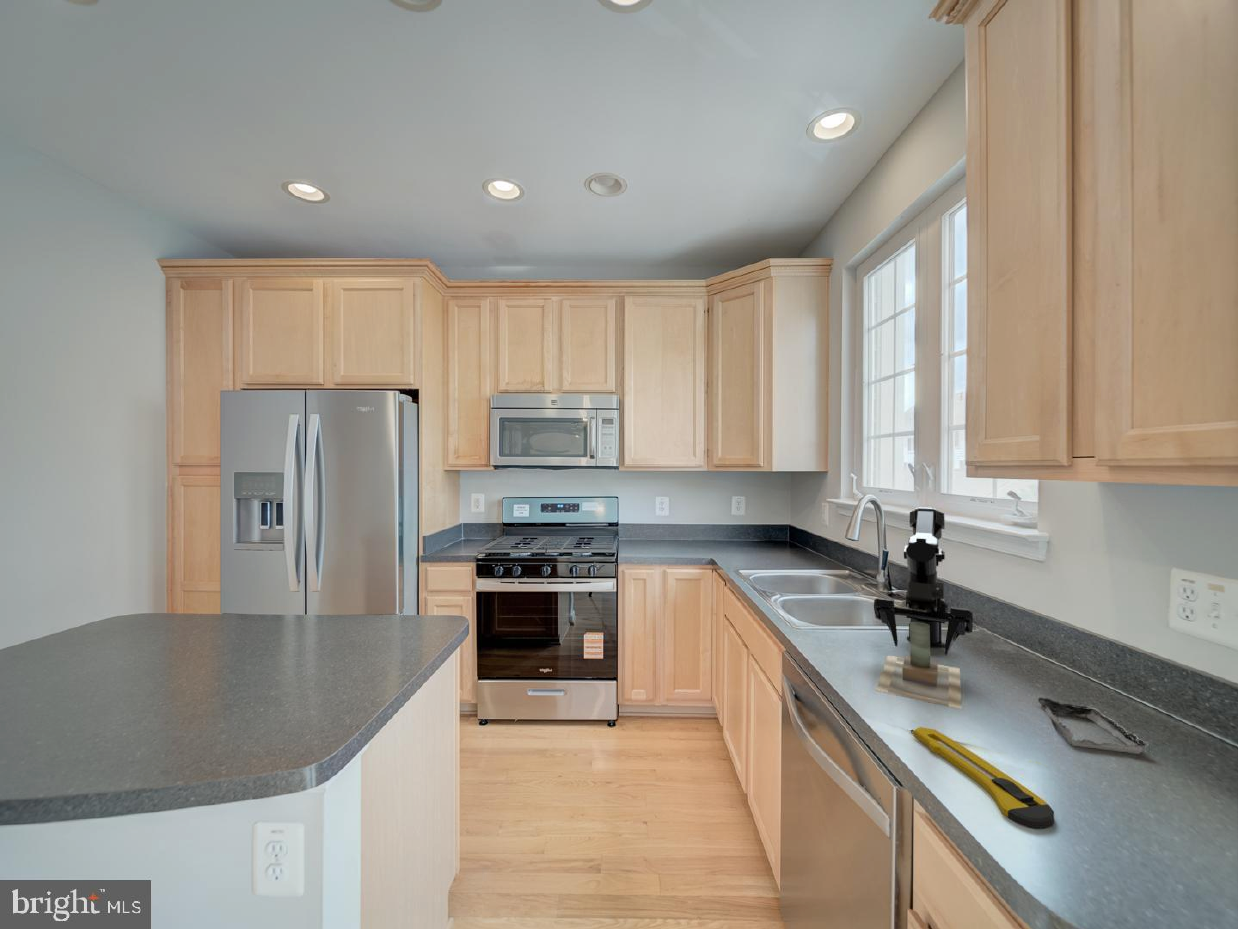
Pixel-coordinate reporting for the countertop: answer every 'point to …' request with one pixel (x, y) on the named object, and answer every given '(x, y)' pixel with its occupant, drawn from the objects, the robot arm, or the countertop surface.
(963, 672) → the countertop surface
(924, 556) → the robot arm
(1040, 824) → the utility knife
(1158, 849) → the countertop surface
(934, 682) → the grey-green cylinder
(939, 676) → the wooden frame
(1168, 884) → the countertop surface
